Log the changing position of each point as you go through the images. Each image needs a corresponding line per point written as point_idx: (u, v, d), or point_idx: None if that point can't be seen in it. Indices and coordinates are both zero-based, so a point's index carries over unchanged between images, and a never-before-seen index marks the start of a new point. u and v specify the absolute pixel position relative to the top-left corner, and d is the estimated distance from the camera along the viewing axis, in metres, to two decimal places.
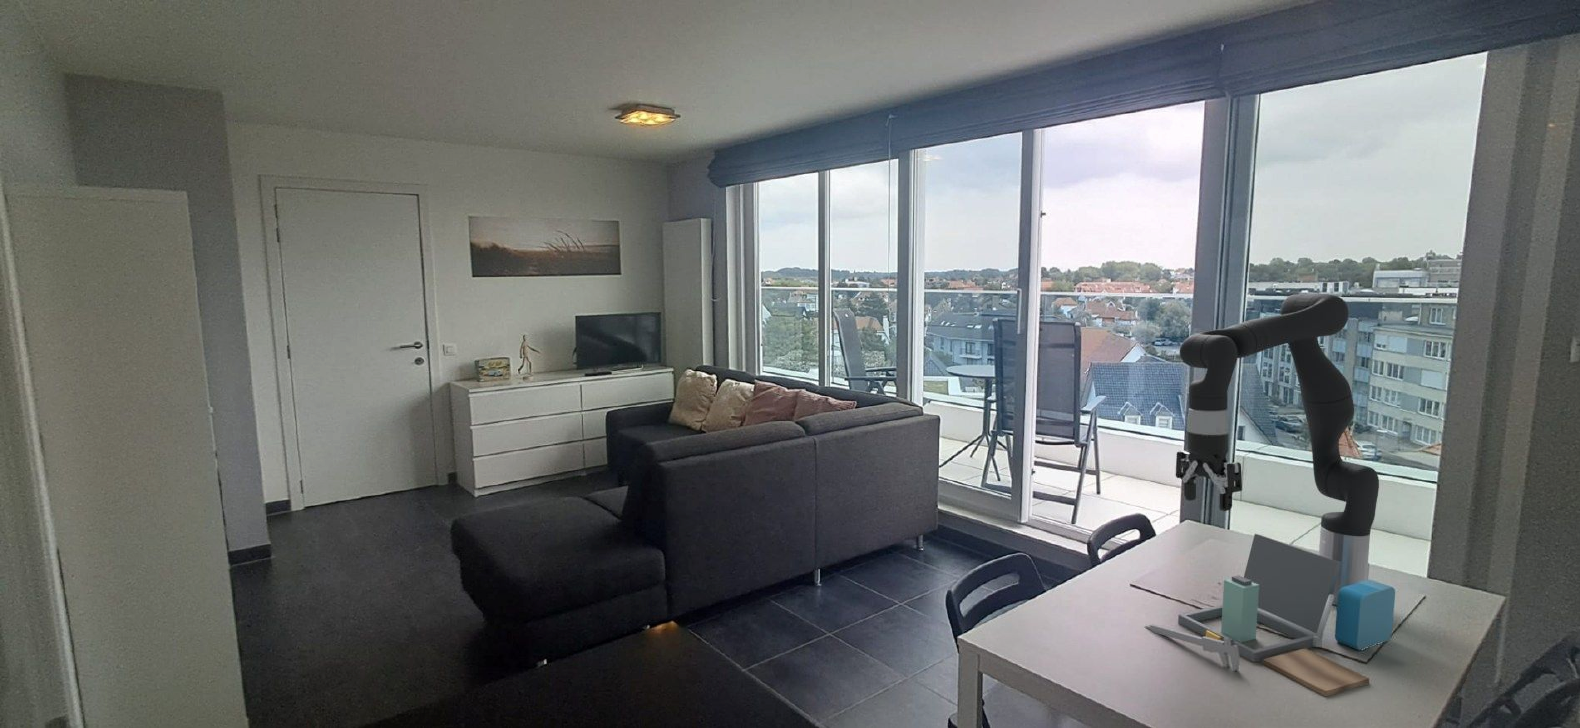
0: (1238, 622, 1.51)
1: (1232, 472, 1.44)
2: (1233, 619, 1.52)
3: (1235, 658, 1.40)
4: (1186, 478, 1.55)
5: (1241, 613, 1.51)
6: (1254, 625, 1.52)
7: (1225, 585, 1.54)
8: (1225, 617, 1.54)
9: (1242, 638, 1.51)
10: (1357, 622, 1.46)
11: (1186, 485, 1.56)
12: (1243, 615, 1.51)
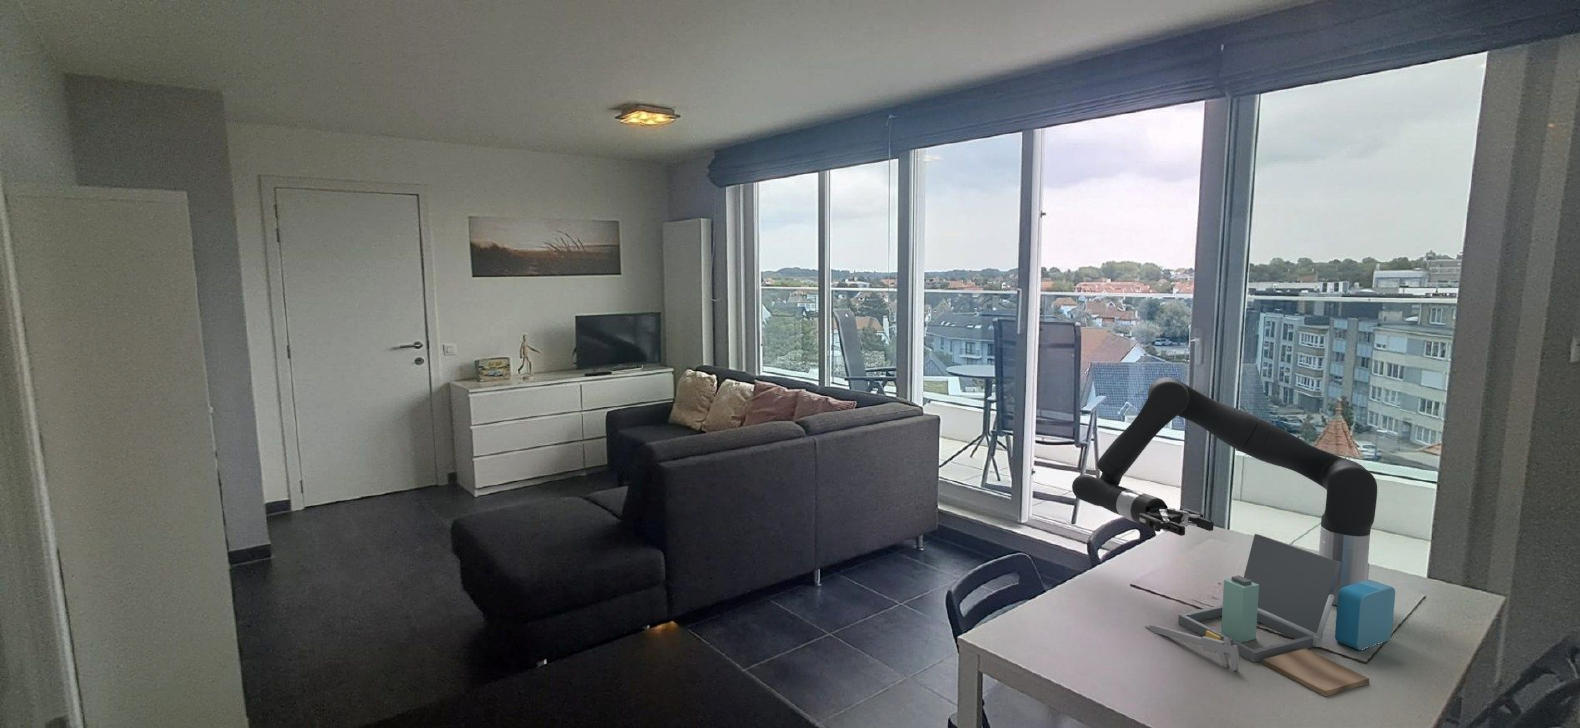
0: (1238, 622, 1.51)
1: (1143, 525, 1.68)
2: (1233, 619, 1.52)
3: (1235, 658, 1.40)
4: None
5: (1241, 613, 1.51)
6: (1254, 625, 1.52)
7: (1225, 585, 1.54)
8: (1225, 617, 1.54)
9: (1242, 638, 1.51)
10: (1357, 622, 1.46)
11: None
12: (1243, 615, 1.51)
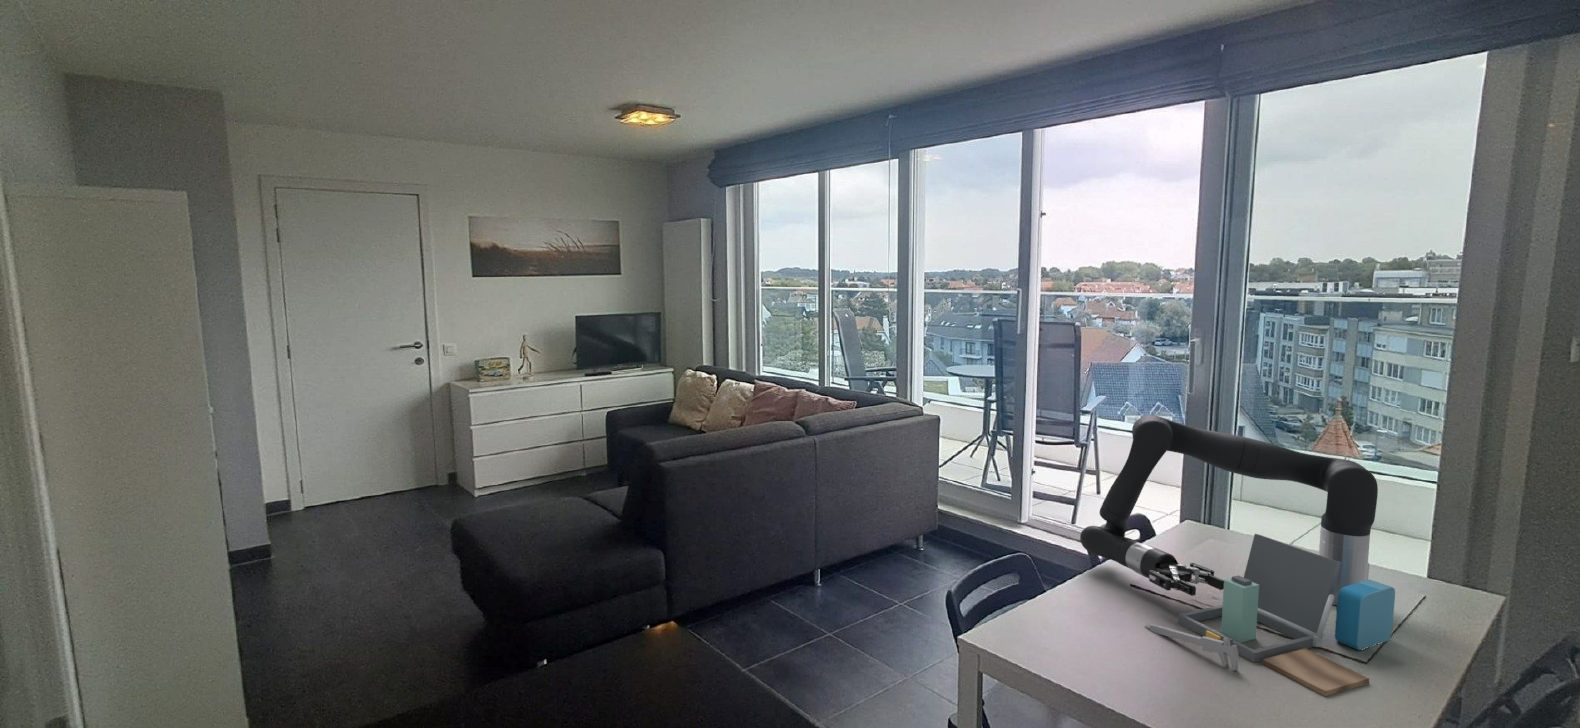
0: (1238, 622, 1.51)
1: (1153, 582, 1.66)
2: (1233, 619, 1.52)
3: (1234, 658, 1.40)
4: None
5: (1241, 613, 1.51)
6: (1254, 625, 1.52)
7: (1225, 585, 1.54)
8: (1225, 617, 1.54)
9: (1242, 638, 1.51)
10: (1357, 622, 1.46)
11: None
12: (1243, 615, 1.51)
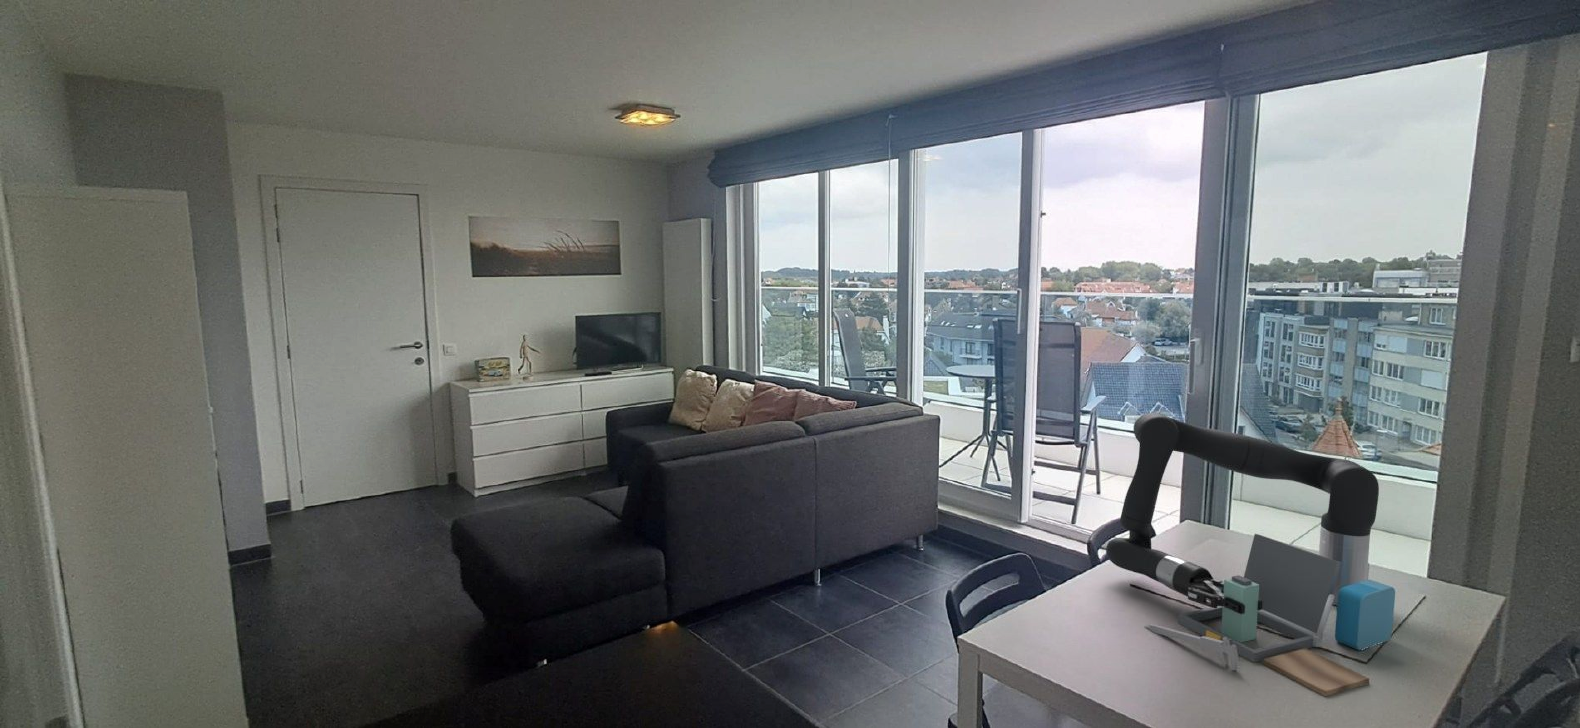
0: (1238, 622, 1.51)
1: (1195, 601, 1.56)
2: (1234, 619, 1.52)
3: (1234, 658, 1.40)
4: None
5: None
6: (1254, 625, 1.52)
7: (1225, 585, 1.54)
8: (1225, 617, 1.54)
9: (1242, 638, 1.51)
10: (1357, 622, 1.46)
11: None
12: (1243, 615, 1.51)
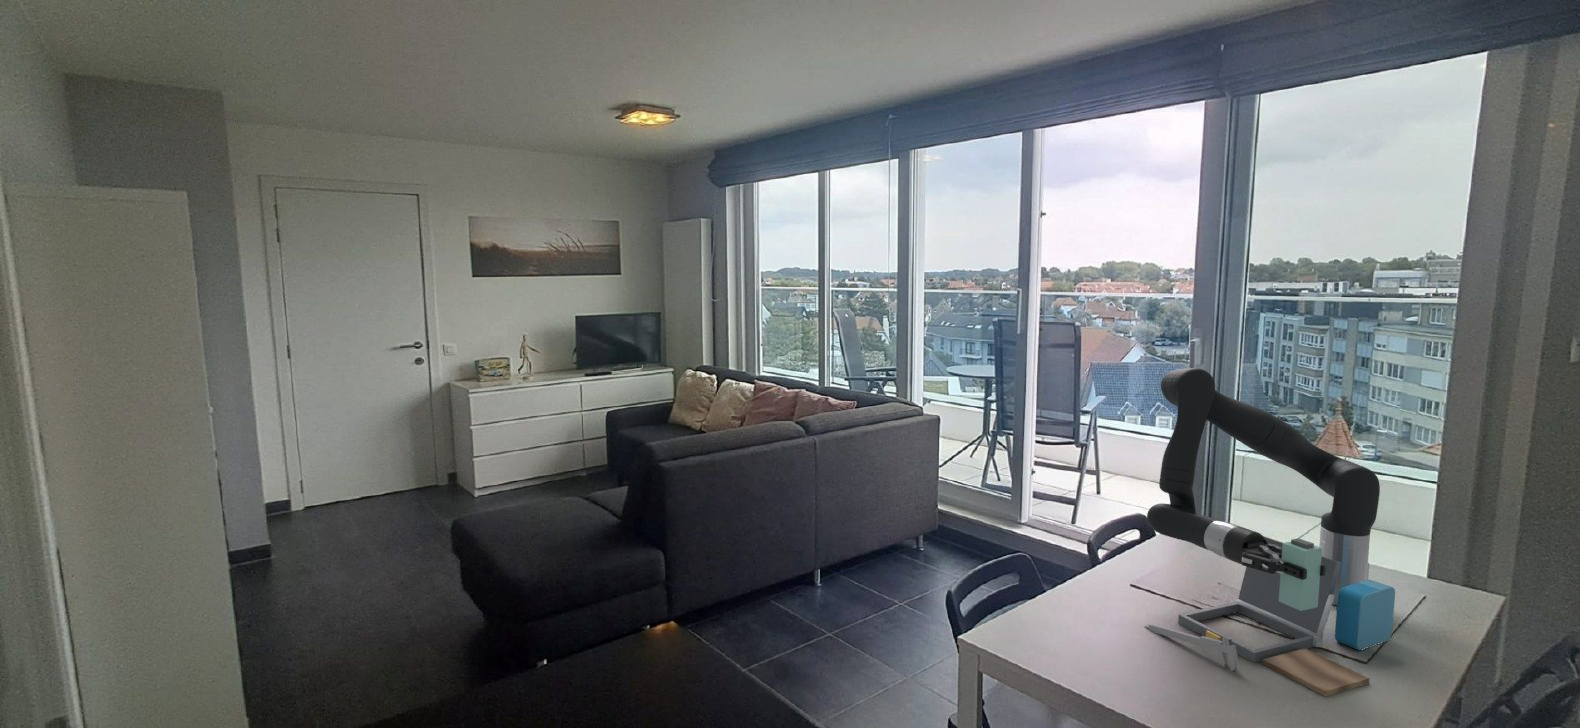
0: (1298, 589, 1.39)
1: (1250, 566, 1.44)
2: (1293, 585, 1.39)
3: (1233, 658, 1.40)
4: None
5: None
6: (1316, 592, 1.39)
7: (1284, 549, 1.41)
8: (1283, 584, 1.41)
9: (1303, 606, 1.38)
10: (1357, 622, 1.46)
11: None
12: (1304, 580, 1.38)
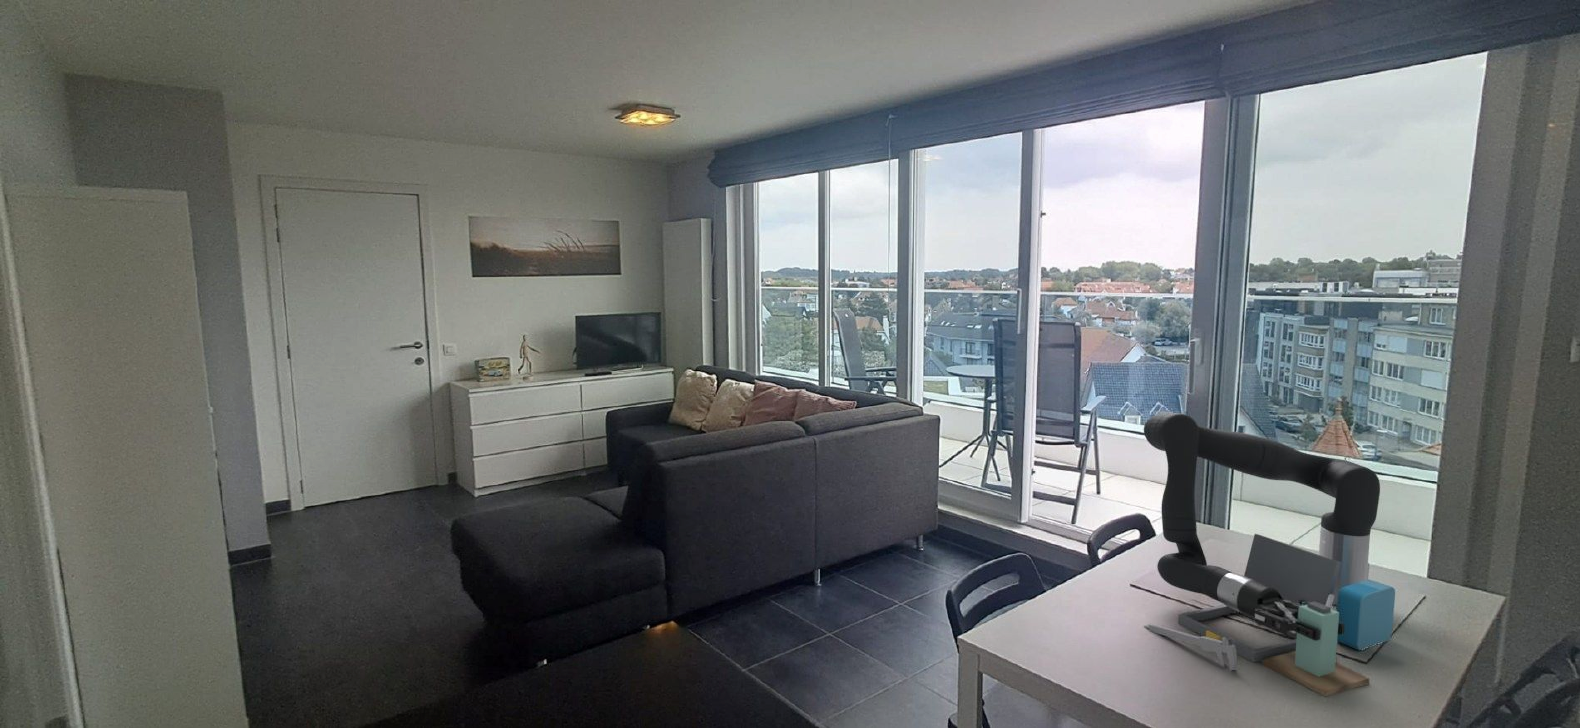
0: (1315, 654, 1.36)
1: (1262, 624, 1.42)
2: (1310, 650, 1.37)
3: (1232, 658, 1.40)
4: None
5: (1320, 644, 1.35)
6: (1333, 657, 1.37)
7: (1300, 612, 1.39)
8: (1300, 648, 1.39)
9: (1320, 671, 1.36)
10: (1357, 622, 1.46)
11: None
12: (1321, 646, 1.36)
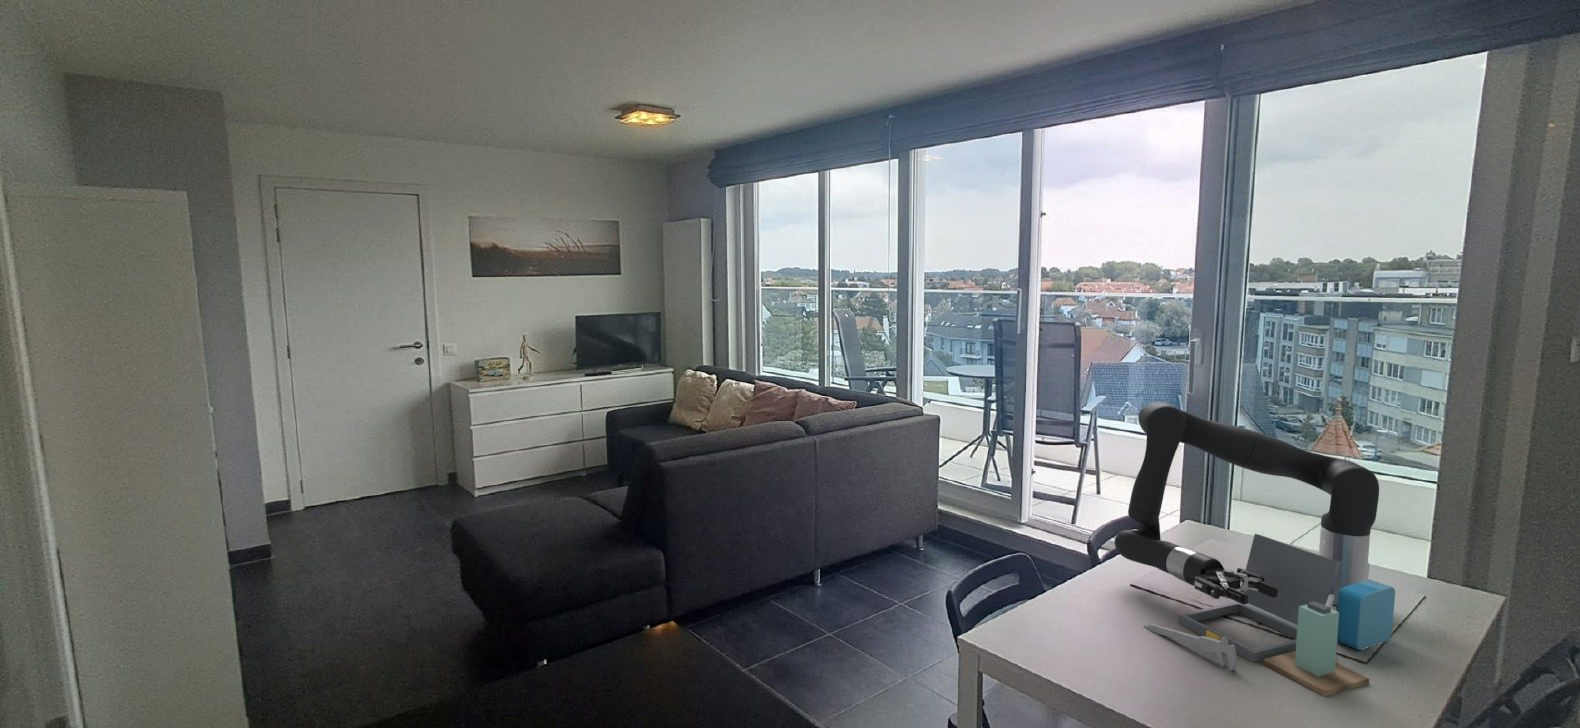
0: (1315, 654, 1.36)
1: (1200, 590, 1.55)
2: (1310, 650, 1.37)
3: (1232, 658, 1.40)
4: None
5: (1320, 644, 1.35)
6: (1333, 657, 1.37)
7: (1300, 612, 1.39)
8: (1300, 648, 1.39)
9: (1320, 671, 1.36)
10: (1357, 622, 1.46)
11: None
12: (1321, 646, 1.36)
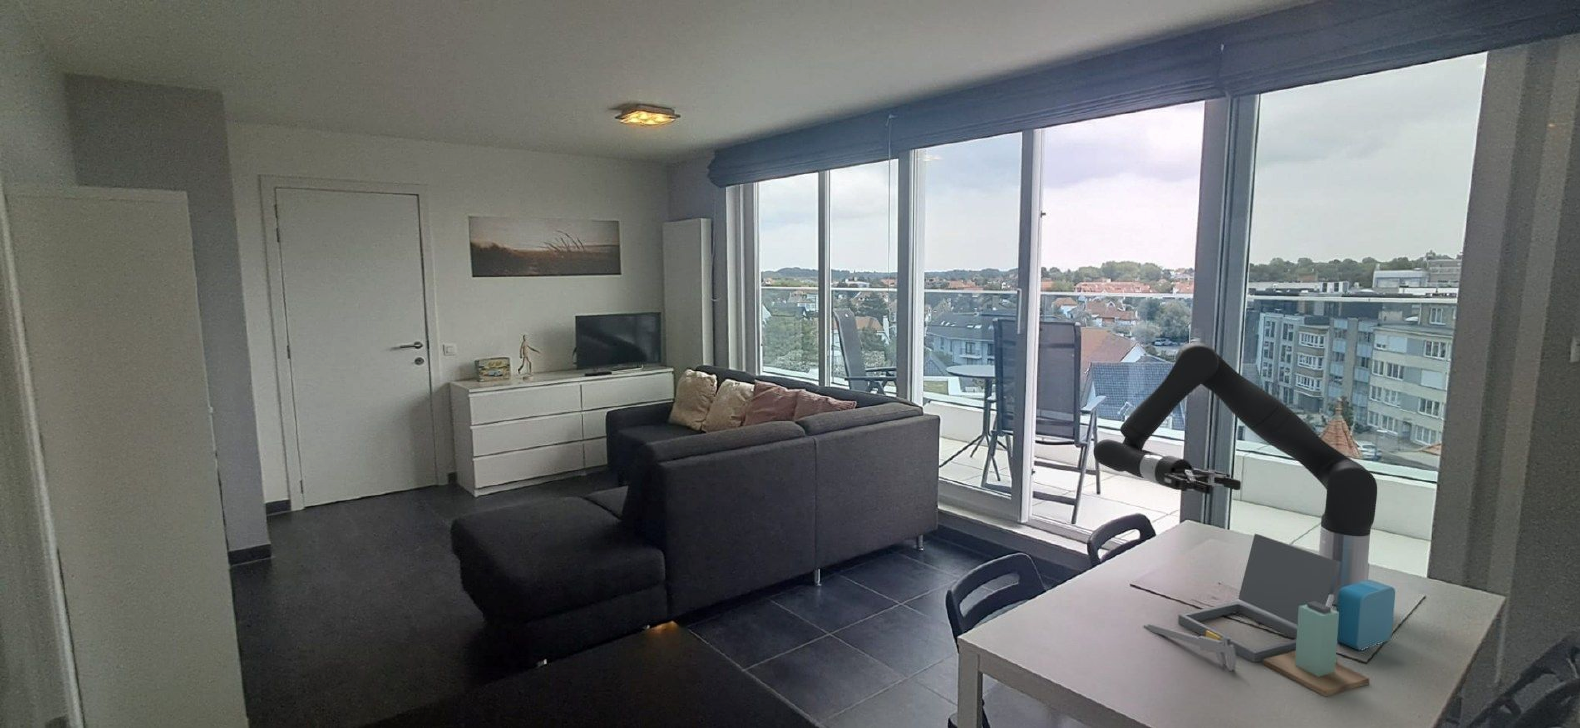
0: (1315, 654, 1.36)
1: (1169, 485, 1.66)
2: (1310, 650, 1.37)
3: (1231, 658, 1.40)
4: None
5: (1320, 644, 1.35)
6: (1333, 657, 1.37)
7: (1300, 612, 1.39)
8: (1300, 648, 1.39)
9: (1320, 671, 1.36)
10: (1357, 622, 1.46)
11: None
12: (1321, 646, 1.36)
